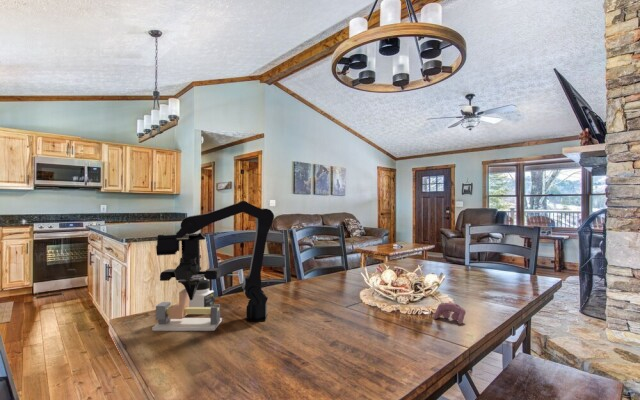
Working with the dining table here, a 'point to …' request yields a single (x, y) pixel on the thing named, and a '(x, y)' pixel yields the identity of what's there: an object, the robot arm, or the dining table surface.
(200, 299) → the medicine bottle
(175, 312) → the sleeve
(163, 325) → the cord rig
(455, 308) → the video game controller
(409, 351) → the dining table surface
